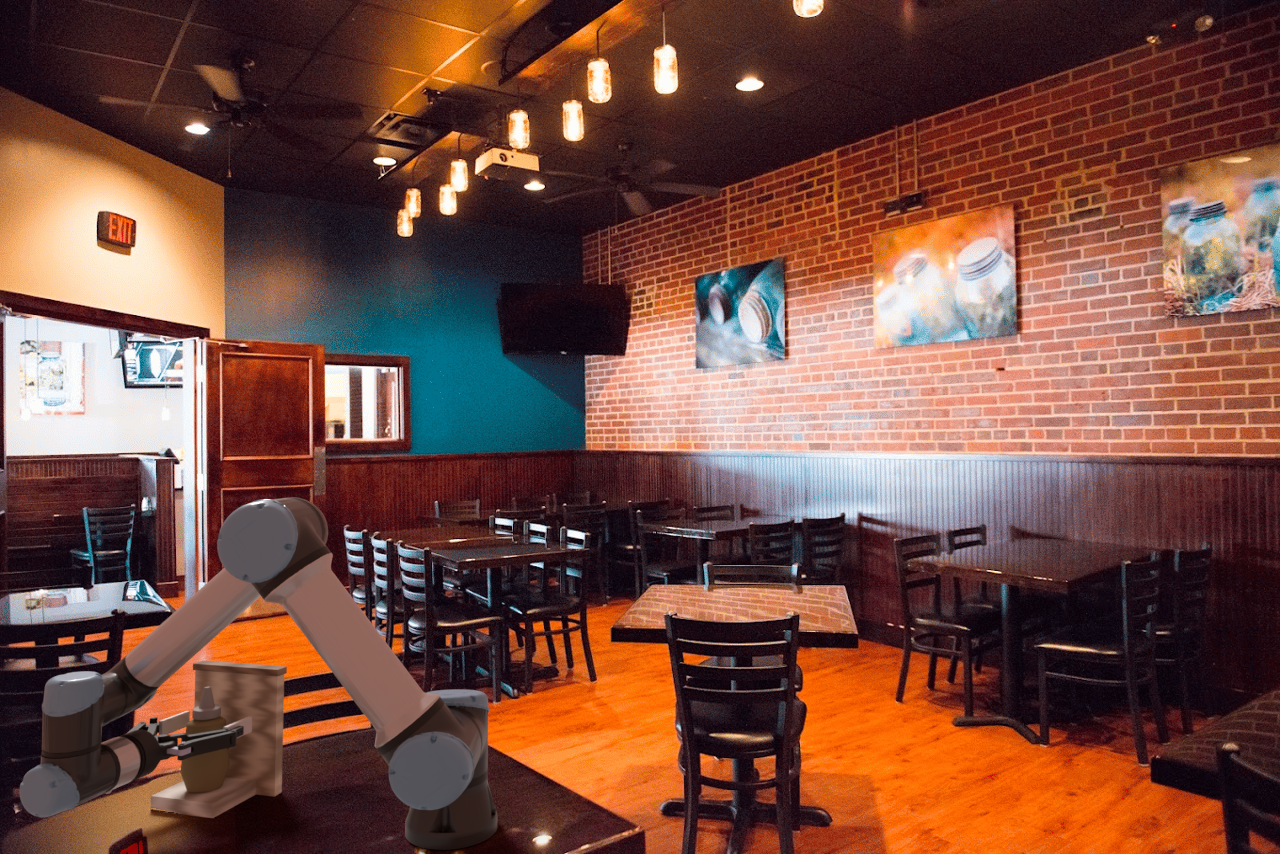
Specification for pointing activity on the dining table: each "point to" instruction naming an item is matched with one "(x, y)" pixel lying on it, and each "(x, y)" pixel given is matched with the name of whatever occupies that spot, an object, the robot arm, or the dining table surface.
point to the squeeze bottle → (207, 767)
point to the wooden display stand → (254, 753)
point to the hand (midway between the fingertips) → (218, 721)
